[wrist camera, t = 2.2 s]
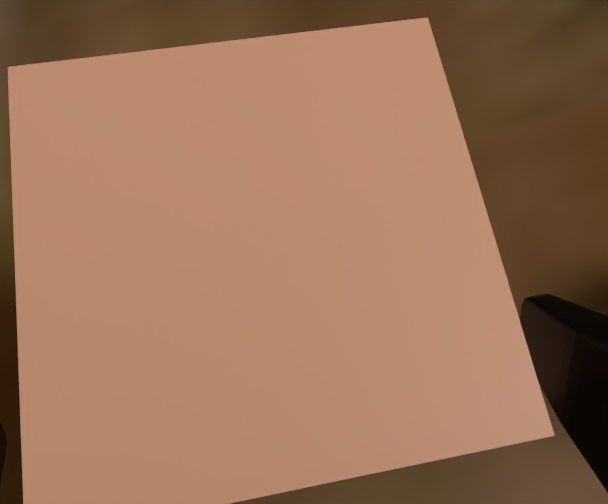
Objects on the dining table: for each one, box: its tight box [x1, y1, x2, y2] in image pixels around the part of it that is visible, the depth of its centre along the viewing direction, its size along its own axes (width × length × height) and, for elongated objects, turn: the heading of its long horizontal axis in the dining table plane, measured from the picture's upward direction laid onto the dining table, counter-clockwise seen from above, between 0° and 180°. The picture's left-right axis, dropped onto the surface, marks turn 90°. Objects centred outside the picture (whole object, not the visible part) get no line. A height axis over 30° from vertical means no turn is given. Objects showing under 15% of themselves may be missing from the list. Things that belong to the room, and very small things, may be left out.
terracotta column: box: [8, 18, 555, 504], centre depth 12 cm, size 4×4×13 cm
